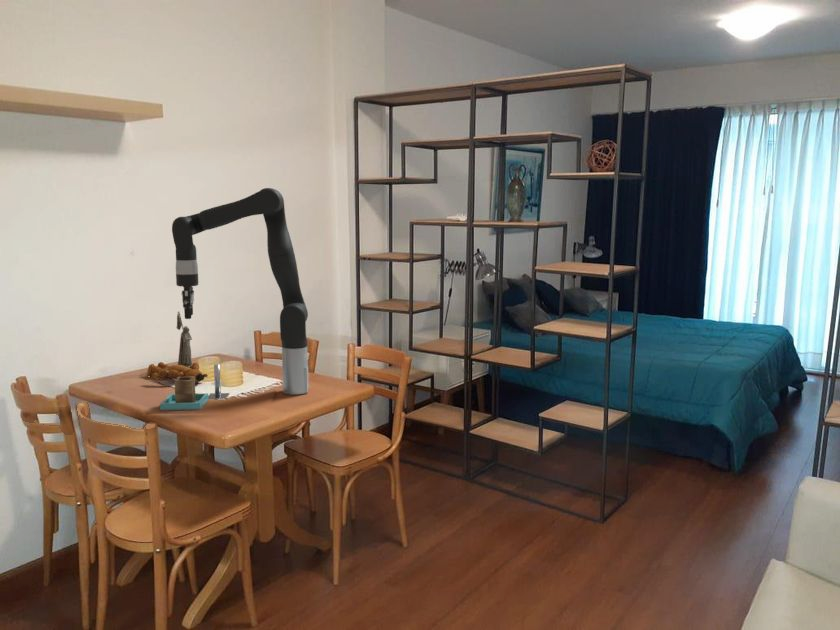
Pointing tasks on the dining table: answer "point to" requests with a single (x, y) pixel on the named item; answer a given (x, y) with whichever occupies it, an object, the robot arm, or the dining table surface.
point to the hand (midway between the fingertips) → (189, 316)
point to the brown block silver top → (217, 385)
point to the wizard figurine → (184, 344)
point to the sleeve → (185, 390)
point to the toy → (175, 371)
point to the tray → (172, 405)
